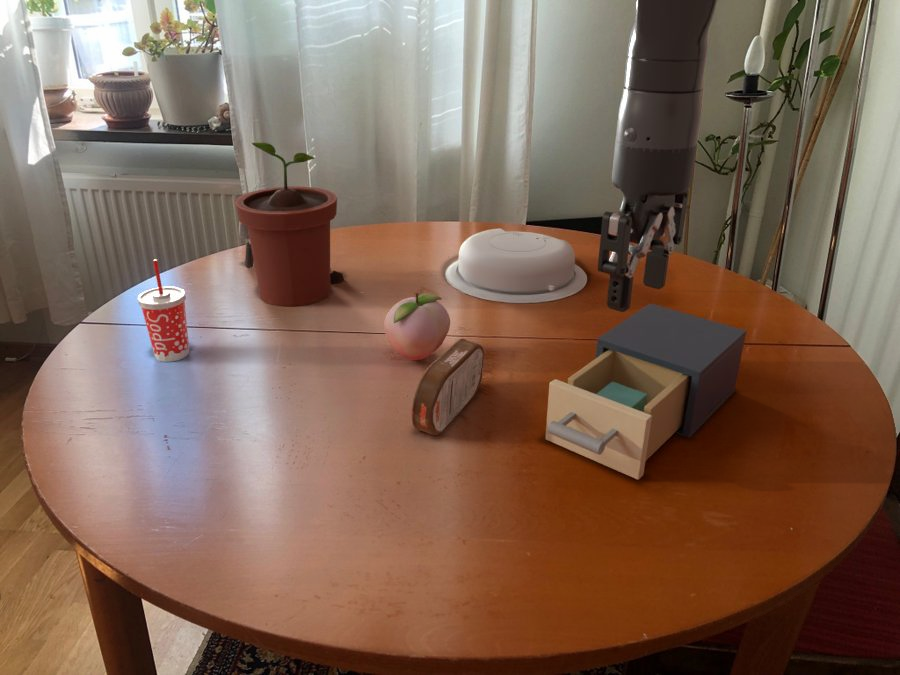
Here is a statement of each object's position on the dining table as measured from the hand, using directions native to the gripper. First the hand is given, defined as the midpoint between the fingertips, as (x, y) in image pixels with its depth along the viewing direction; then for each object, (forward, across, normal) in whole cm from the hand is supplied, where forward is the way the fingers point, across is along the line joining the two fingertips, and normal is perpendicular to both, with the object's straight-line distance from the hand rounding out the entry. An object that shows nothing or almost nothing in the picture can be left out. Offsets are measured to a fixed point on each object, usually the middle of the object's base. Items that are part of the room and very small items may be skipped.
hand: (636, 297), depth 77 cm
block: (+16, -1, 0) cm, 16 cm away
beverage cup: (+18, -22, +58) cm, 64 cm away
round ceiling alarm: (+18, +34, +39) cm, 55 cm away
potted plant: (+18, +6, +65) cm, 68 cm away
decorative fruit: (+18, 0, +31) cm, 36 cm away
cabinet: (+18, +12, 0) cm, 21 cm away
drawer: (+17, -2, 0) cm, 17 cm away
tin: (+18, -8, +18) cm, 27 cm away
